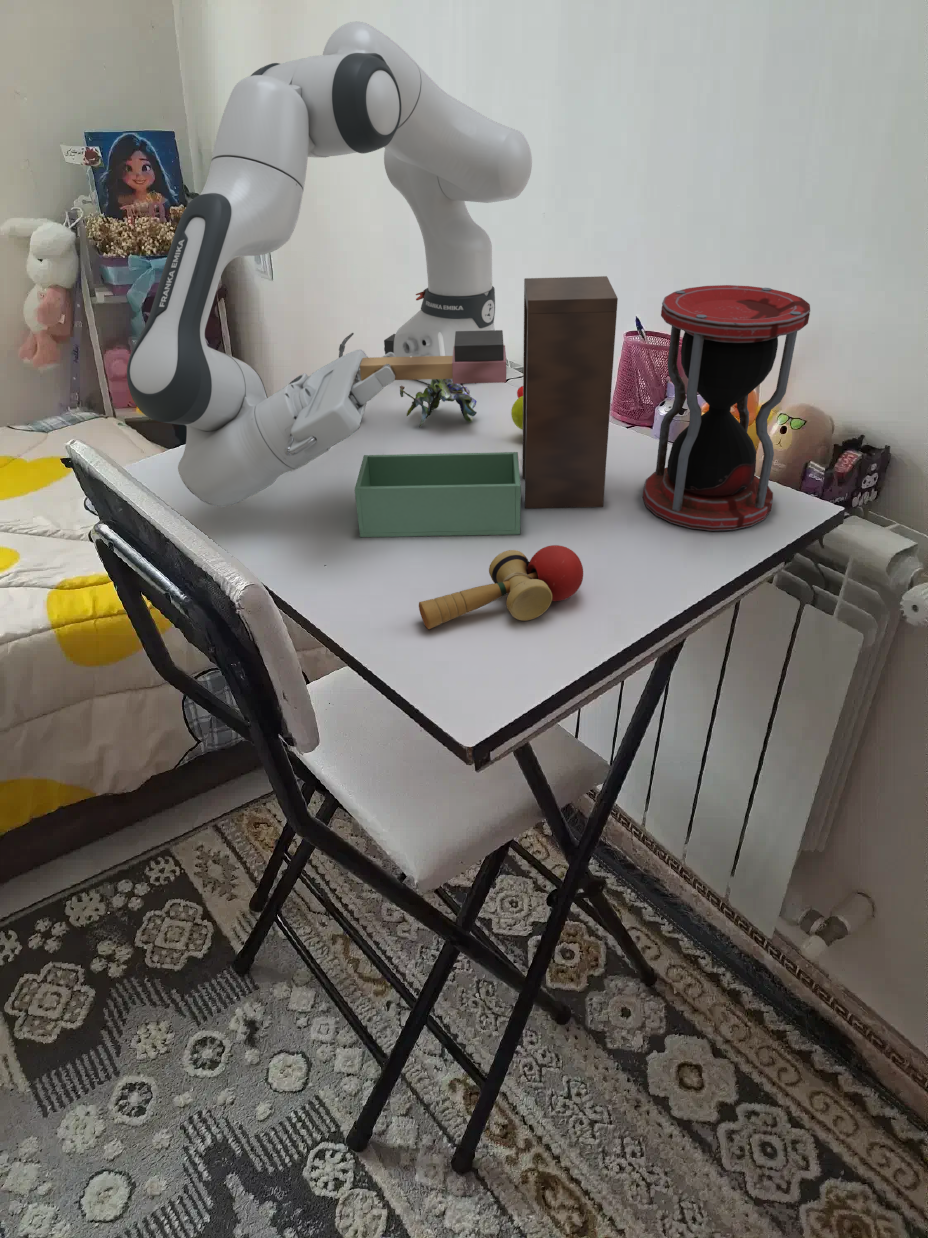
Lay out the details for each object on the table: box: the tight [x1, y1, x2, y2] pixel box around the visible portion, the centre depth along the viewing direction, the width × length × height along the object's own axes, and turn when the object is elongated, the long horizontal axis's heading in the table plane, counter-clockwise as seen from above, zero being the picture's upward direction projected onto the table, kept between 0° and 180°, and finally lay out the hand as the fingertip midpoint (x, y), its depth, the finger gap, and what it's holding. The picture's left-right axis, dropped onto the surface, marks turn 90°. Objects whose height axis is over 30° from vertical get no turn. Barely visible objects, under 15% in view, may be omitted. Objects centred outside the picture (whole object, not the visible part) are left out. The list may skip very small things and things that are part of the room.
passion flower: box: [399, 379, 478, 428], centre depth 133 cm, size 11×11×12 cm
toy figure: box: [510, 385, 523, 431], centre depth 127 cm, size 18×6×7 cm, turn 0°
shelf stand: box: [521, 275, 619, 509], centre depth 107 cm, size 10×10×26 cm
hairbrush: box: [360, 329, 507, 384], centre depth 98 cm, size 16×6×4 cm, turn 89°
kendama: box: [418, 544, 584, 630], centre depth 90 cm, size 8×6×18 cm
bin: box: [354, 451, 522, 538], centre depth 107 cm, size 20×10×7 cm, turn 89°
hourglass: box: [641, 284, 811, 532], centre depth 104 cm, size 16×16×25 cm
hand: (394, 364), depth 98 cm, fingers closed on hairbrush, 3 cm apart
